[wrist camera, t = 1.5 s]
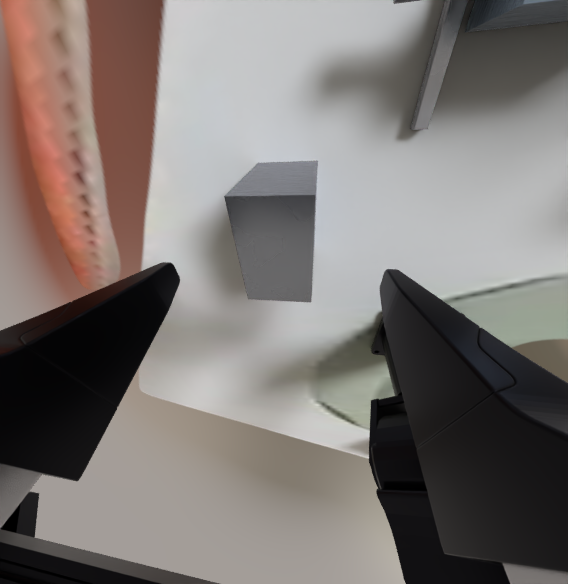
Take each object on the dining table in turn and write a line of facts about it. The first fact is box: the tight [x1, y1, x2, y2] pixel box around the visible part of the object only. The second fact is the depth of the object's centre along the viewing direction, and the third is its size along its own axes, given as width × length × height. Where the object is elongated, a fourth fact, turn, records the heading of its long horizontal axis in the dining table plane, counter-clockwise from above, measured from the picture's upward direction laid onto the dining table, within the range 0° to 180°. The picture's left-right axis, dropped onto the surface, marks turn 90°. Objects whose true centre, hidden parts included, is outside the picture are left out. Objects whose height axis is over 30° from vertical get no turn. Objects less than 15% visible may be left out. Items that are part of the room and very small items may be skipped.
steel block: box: [224, 161, 318, 302], centre depth 12 cm, size 4×6×6 cm, turn 3°
